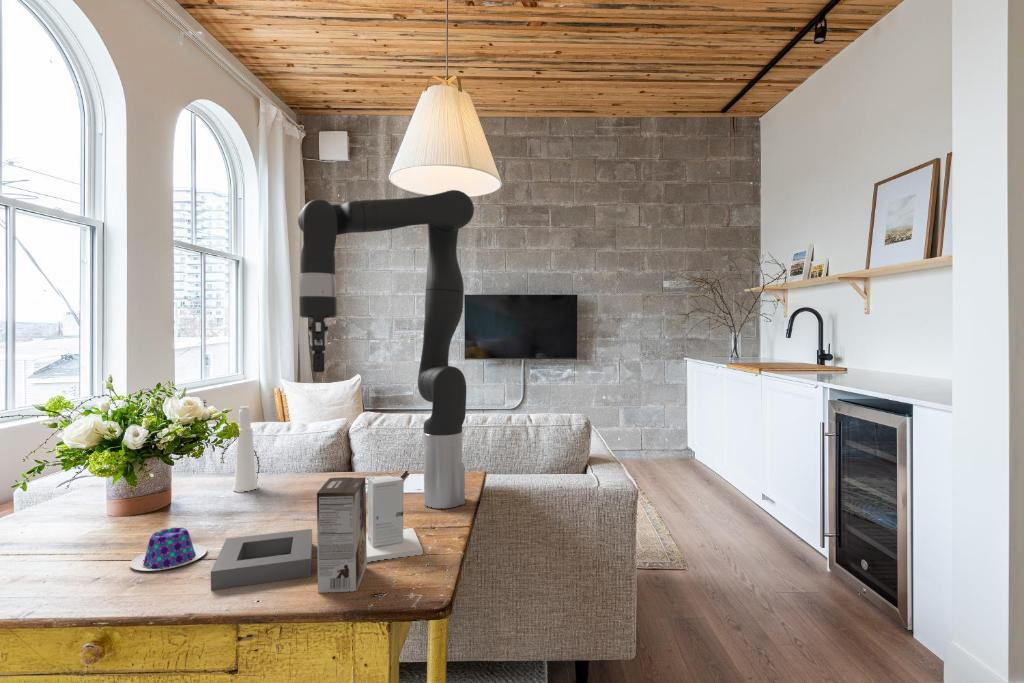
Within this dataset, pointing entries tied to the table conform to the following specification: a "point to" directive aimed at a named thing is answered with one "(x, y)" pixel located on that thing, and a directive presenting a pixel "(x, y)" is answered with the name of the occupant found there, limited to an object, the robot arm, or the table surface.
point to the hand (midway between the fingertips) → (319, 370)
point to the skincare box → (385, 510)
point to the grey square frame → (263, 559)
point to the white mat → (395, 547)
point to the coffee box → (341, 534)
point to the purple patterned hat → (168, 550)
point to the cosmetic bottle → (245, 455)
